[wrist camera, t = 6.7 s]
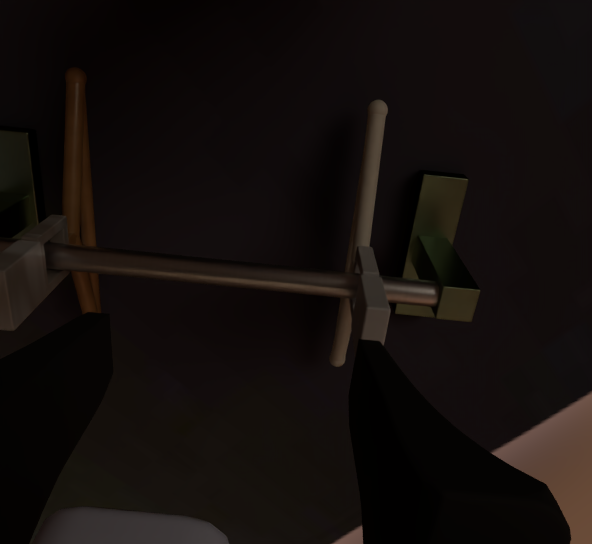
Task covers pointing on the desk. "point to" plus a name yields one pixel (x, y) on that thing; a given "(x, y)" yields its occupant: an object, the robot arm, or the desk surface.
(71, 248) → the rail
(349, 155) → the desk surface
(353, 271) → the white hanger
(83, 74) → the beech hanger
